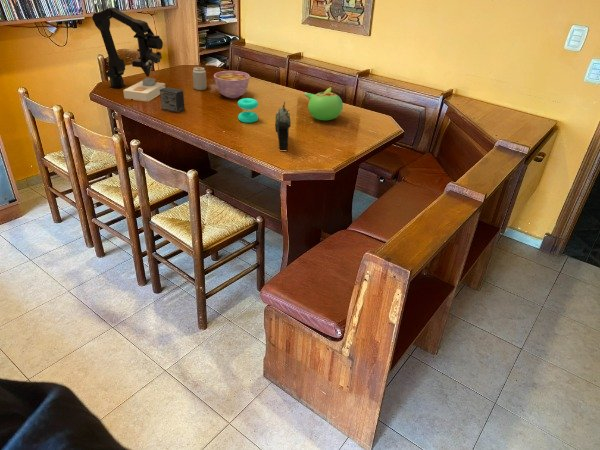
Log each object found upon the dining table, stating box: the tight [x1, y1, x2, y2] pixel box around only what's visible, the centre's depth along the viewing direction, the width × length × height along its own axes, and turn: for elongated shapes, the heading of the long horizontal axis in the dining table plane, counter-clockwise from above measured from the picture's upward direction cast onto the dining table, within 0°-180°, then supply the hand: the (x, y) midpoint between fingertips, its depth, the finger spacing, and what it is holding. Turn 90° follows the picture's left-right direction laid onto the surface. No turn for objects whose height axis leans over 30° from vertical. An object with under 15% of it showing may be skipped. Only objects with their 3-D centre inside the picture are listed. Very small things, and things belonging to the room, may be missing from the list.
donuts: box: [237, 97, 259, 124], centre depth 223 cm, size 10×10×10 cm
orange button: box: [134, 87, 146, 91], centre depth 244 cm, size 5×5×4 cm
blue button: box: [141, 77, 156, 86], centre depth 251 cm, size 5×5×4 cm
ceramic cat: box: [274, 101, 292, 151], centre depth 197 cm, size 20×6×20 cm, turn 5°
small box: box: [159, 86, 186, 114], centre depth 230 cm, size 11×6×10 cm, turn 65°
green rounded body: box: [303, 86, 344, 121], centre depth 229 cm, size 18×17×15 cm
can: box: [192, 66, 208, 91], centre depth 261 cm, size 8×8×12 cm
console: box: [122, 80, 166, 102], centre depth 249 cm, size 14×20×4 cm
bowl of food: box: [213, 70, 251, 99], centre depth 253 cm, size 20×20×12 cm
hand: (148, 76), depth 249 cm, fingers closed
